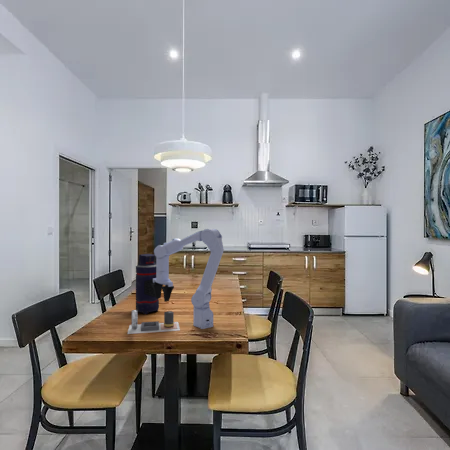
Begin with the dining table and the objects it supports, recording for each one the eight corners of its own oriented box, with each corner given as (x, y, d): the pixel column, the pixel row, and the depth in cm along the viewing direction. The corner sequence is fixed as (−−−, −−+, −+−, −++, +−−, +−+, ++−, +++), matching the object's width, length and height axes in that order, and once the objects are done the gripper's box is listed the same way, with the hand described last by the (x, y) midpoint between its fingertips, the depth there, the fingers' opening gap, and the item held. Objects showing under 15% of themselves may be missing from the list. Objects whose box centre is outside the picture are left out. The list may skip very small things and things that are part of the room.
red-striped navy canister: (163, 311, 167) (163, 254, 168) (144, 315, 159) (144, 255, 159) (148, 306, 177) (148, 252, 177) (129, 310, 168) (129, 254, 168)
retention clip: (131, 327, 137) (131, 310, 137) (137, 327, 138) (137, 309, 138) (131, 337, 124) (131, 318, 124) (138, 337, 125) (138, 318, 125)
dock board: (178, 323, 146) (178, 318, 146) (180, 332, 135) (180, 326, 135) (129, 326, 142) (129, 321, 142) (127, 335, 130) (127, 330, 130)
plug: (175, 326, 139) (175, 312, 139) (167, 328, 136) (167, 314, 136) (170, 323, 143) (170, 310, 143) (161, 326, 140) (161, 312, 140)
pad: (176, 323, 144) (176, 323, 144) (177, 328, 137) (177, 328, 137) (160, 324, 142) (160, 324, 142) (160, 329, 135) (160, 329, 135)
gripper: (178, 271, 146) (178, 301, 146) (161, 268, 157) (161, 295, 157) (165, 273, 141) (165, 303, 141) (149, 269, 152) (148, 298, 152)
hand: (162, 299), depth 149 cm, fingers open, 7 cm apart
